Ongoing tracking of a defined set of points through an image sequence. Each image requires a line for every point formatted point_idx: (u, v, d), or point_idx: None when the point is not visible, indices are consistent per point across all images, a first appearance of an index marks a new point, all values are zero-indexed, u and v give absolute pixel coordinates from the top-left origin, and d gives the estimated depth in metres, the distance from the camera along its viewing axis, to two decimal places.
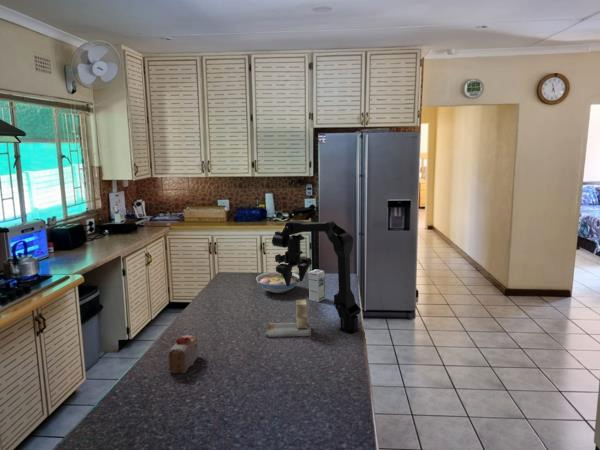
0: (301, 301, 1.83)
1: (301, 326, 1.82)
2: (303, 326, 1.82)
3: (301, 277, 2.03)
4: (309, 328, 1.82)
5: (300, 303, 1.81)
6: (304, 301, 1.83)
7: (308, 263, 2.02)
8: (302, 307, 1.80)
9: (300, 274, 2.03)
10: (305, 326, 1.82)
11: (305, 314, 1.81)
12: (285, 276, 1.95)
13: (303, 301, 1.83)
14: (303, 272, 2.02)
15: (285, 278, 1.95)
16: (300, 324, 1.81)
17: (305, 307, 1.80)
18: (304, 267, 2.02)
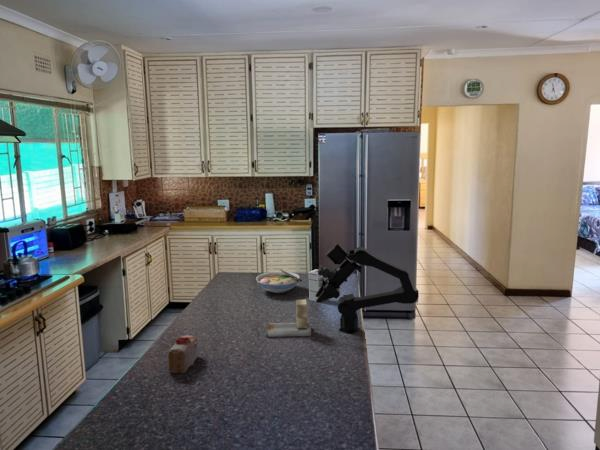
0: (301, 301, 1.83)
1: (301, 326, 1.82)
2: (303, 326, 1.82)
3: (319, 294, 1.86)
4: (309, 328, 1.82)
5: (300, 303, 1.81)
6: (304, 301, 1.83)
7: None
8: (302, 307, 1.80)
9: (320, 291, 1.86)
10: (305, 326, 1.82)
11: (305, 314, 1.81)
12: (324, 294, 1.78)
13: (303, 301, 1.83)
14: None
15: (322, 295, 1.78)
16: (300, 324, 1.81)
17: (305, 307, 1.80)
18: None
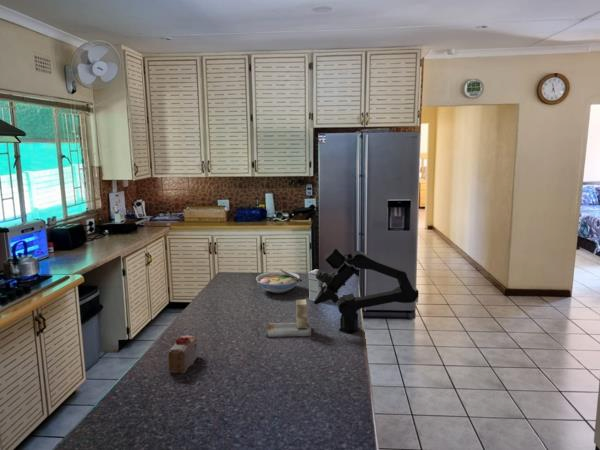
0: (301, 301, 1.83)
1: (301, 326, 1.82)
2: (303, 326, 1.82)
3: None
4: (309, 328, 1.82)
5: (300, 303, 1.81)
6: (304, 301, 1.83)
7: None
8: (302, 307, 1.80)
9: None
10: (305, 326, 1.82)
11: (305, 314, 1.81)
12: (322, 296, 1.81)
13: (303, 301, 1.83)
14: None
15: (320, 297, 1.81)
16: (300, 324, 1.81)
17: (305, 307, 1.80)
18: None
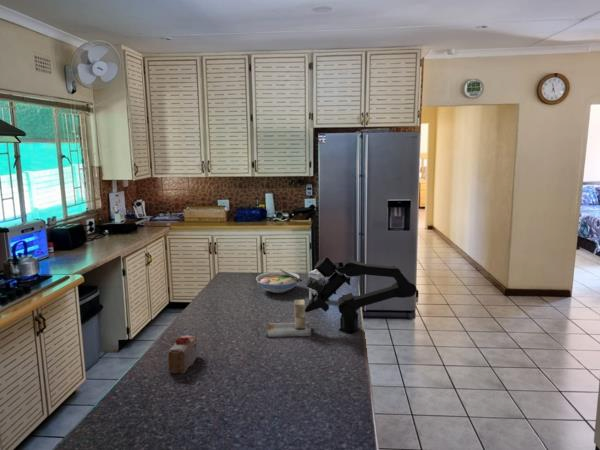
0: (299, 301, 1.83)
1: (299, 326, 1.82)
2: (301, 326, 1.82)
3: None
4: (309, 328, 1.82)
5: (298, 303, 1.81)
6: (302, 301, 1.83)
7: None
8: (300, 307, 1.80)
9: None
10: (303, 326, 1.82)
11: (303, 314, 1.81)
12: (313, 304, 1.81)
13: (301, 301, 1.83)
14: None
15: (311, 305, 1.82)
16: (298, 324, 1.81)
17: (303, 307, 1.80)
18: None
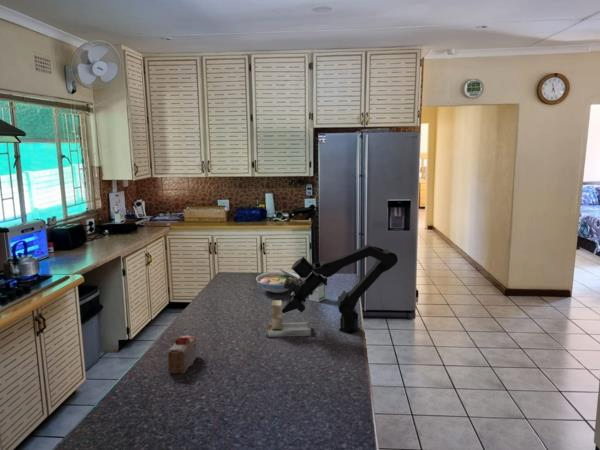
0: (276, 302, 1.83)
1: (276, 327, 1.81)
2: (278, 327, 1.81)
3: None
4: (309, 328, 1.82)
5: (275, 304, 1.81)
6: (279, 302, 1.83)
7: None
8: (277, 308, 1.80)
9: None
10: (280, 327, 1.81)
11: (280, 315, 1.80)
12: (290, 305, 1.81)
13: (278, 302, 1.83)
14: None
15: (288, 306, 1.81)
16: (275, 325, 1.81)
17: (280, 308, 1.80)
18: None
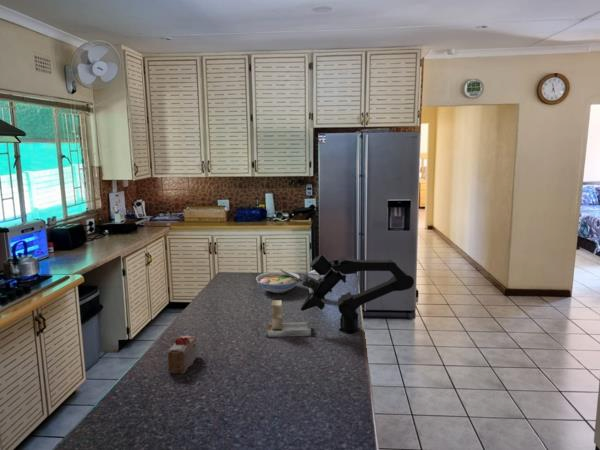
0: (276, 302, 1.83)
1: (276, 327, 1.81)
2: (278, 327, 1.81)
3: None
4: (309, 328, 1.82)
5: (275, 304, 1.81)
6: (279, 302, 1.83)
7: None
8: (277, 308, 1.80)
9: None
10: (280, 327, 1.81)
11: (280, 315, 1.80)
12: (309, 302, 1.81)
13: (278, 302, 1.83)
14: None
15: (307, 304, 1.81)
16: (275, 325, 1.81)
17: (280, 308, 1.80)
18: None
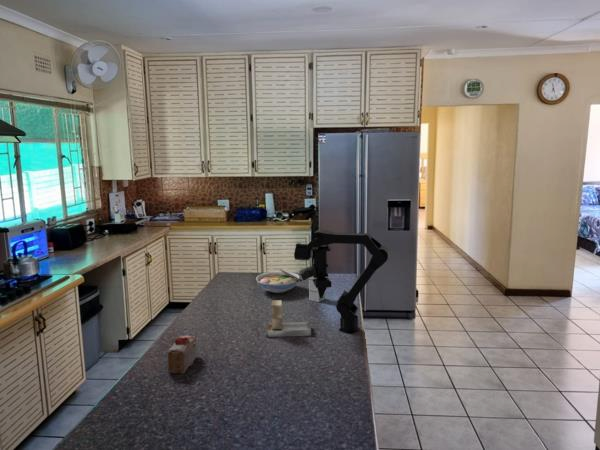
0: (276, 302, 1.83)
1: (276, 327, 1.81)
2: (278, 327, 1.81)
3: None
4: (309, 328, 1.82)
5: (275, 304, 1.81)
6: (279, 302, 1.83)
7: None
8: (277, 308, 1.80)
9: None
10: (280, 327, 1.81)
11: (280, 315, 1.80)
12: (320, 287, 1.84)
13: (278, 302, 1.83)
14: None
15: (320, 290, 1.85)
16: (275, 325, 1.81)
17: (280, 308, 1.80)
18: None
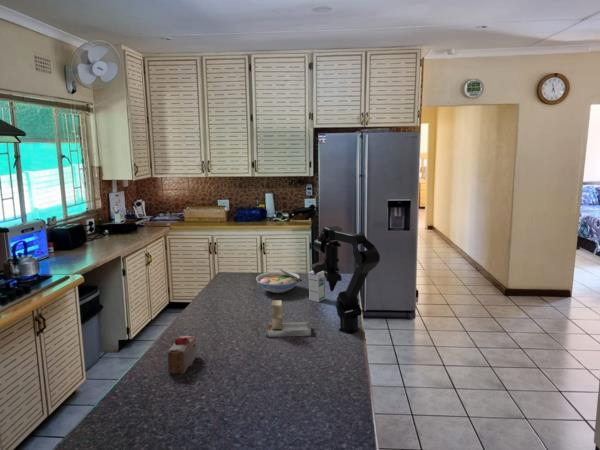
0: (276, 302, 1.83)
1: (276, 327, 1.81)
2: (278, 327, 1.81)
3: None
4: (309, 328, 1.82)
5: (275, 304, 1.81)
6: (279, 302, 1.83)
7: None
8: (277, 308, 1.80)
9: None
10: (280, 327, 1.81)
11: (280, 315, 1.80)
12: (331, 281, 1.92)
13: (278, 302, 1.83)
14: None
15: (331, 283, 1.92)
16: (275, 325, 1.81)
17: (280, 308, 1.80)
18: None
